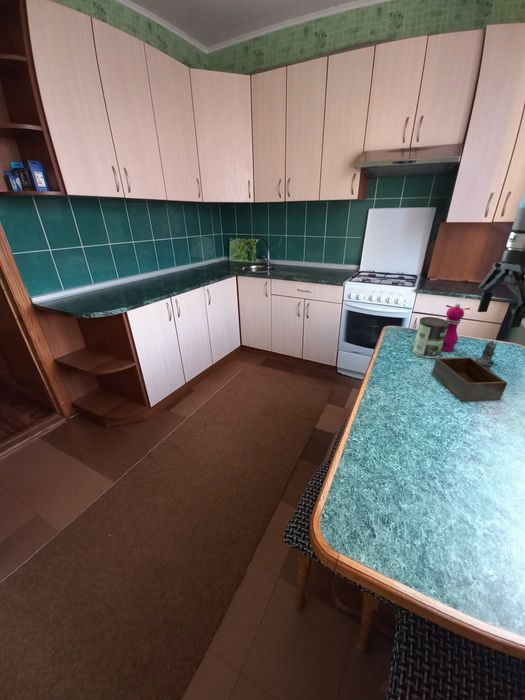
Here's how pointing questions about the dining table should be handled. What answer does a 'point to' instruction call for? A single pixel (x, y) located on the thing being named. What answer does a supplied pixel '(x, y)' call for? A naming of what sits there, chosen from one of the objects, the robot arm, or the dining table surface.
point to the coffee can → (430, 337)
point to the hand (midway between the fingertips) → (496, 318)
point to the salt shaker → (487, 356)
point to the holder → (468, 379)
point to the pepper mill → (452, 327)
